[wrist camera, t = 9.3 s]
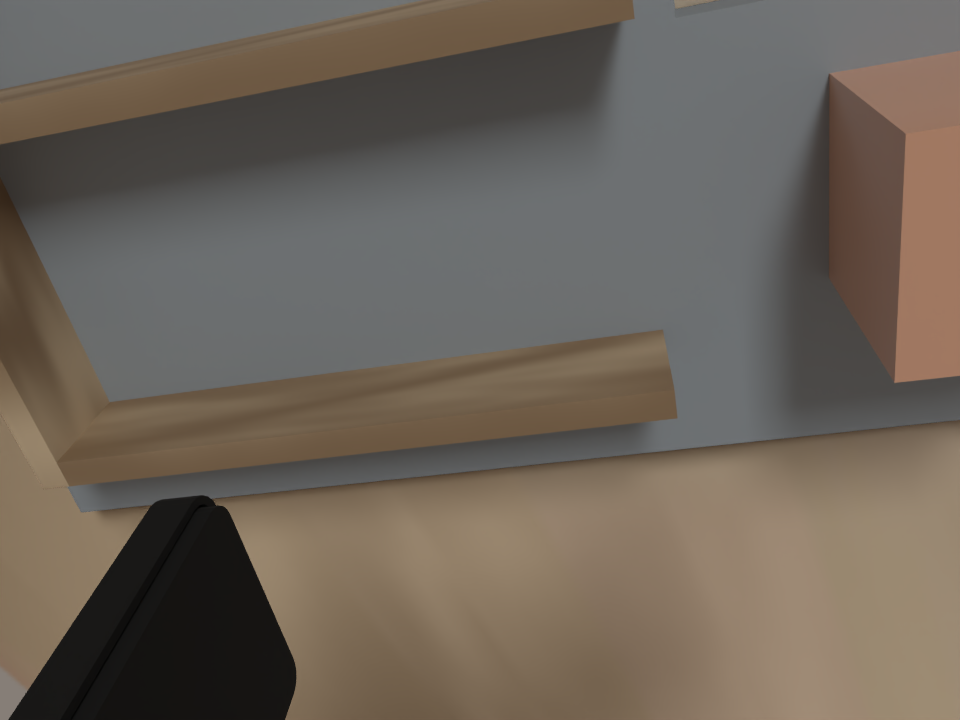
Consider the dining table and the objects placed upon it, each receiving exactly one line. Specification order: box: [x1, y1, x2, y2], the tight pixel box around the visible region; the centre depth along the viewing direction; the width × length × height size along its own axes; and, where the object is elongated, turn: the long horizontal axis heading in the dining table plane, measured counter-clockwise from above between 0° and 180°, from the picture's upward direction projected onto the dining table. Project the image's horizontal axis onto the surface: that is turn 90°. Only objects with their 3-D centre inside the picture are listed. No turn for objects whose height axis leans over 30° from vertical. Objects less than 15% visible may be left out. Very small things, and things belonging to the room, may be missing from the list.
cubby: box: [0, 0, 678, 489], centre depth 21 cm, size 10×17×3 cm, turn 101°
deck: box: [0, 0, 960, 512], centre depth 21 cm, size 18×29×1 cm, turn 102°
